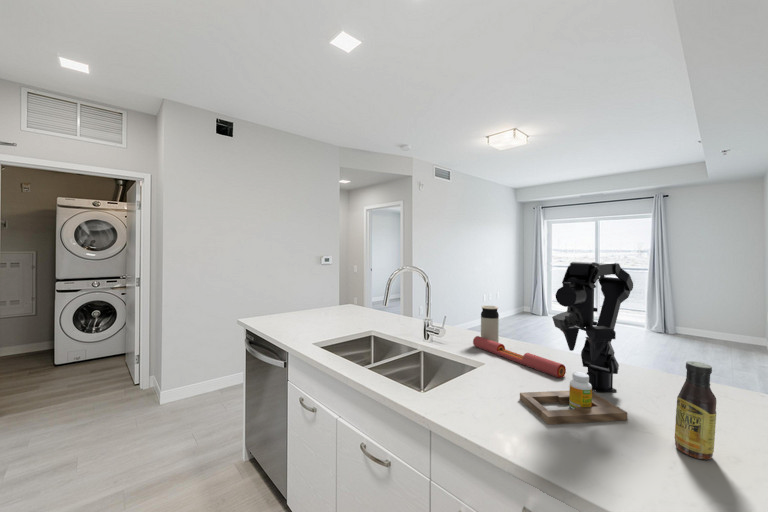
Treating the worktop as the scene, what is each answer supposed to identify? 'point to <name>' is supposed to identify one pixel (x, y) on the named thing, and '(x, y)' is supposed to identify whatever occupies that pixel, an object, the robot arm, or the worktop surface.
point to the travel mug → (490, 323)
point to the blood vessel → (522, 357)
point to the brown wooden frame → (596, 413)
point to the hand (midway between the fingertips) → (581, 355)
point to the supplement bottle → (580, 391)
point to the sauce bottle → (696, 413)
